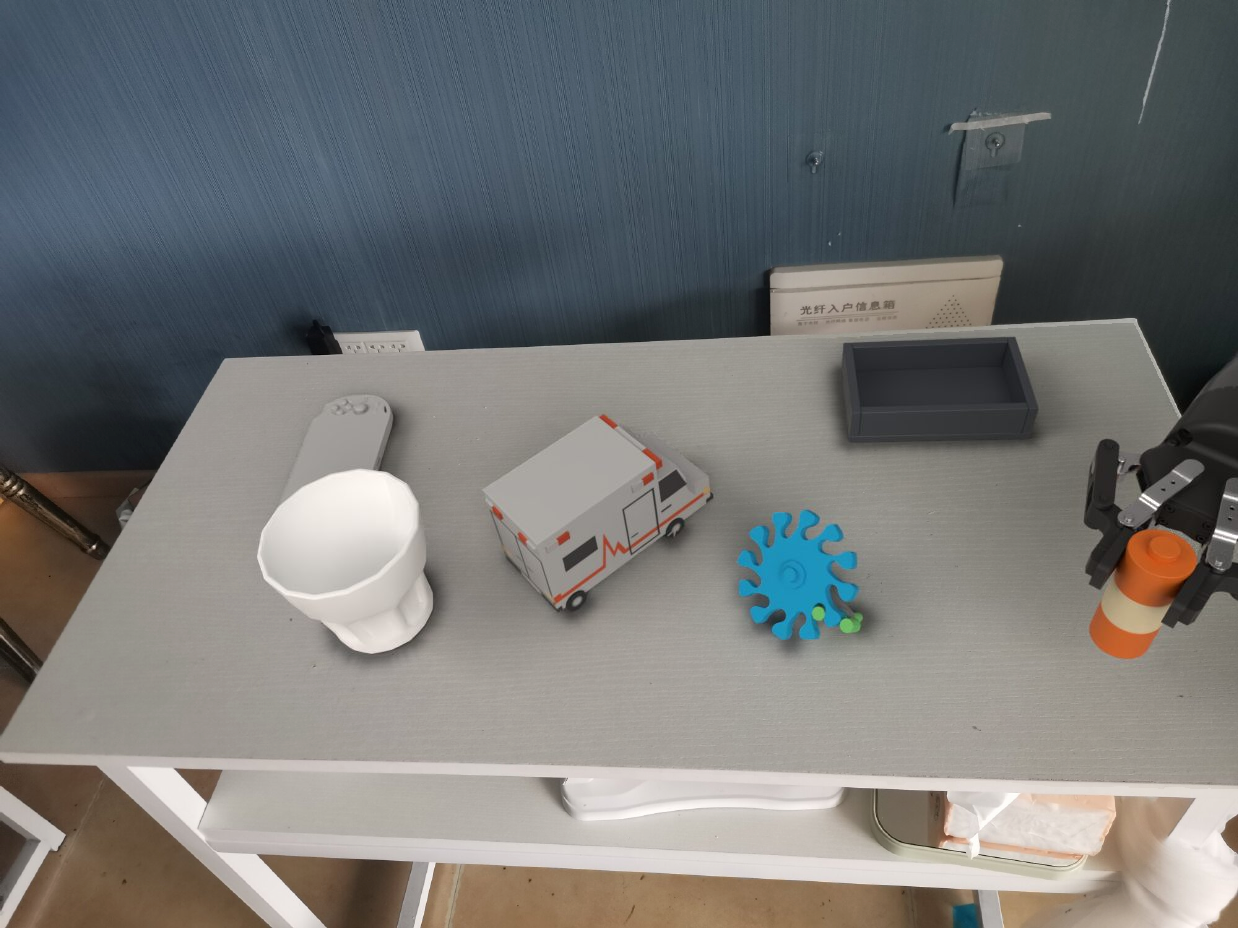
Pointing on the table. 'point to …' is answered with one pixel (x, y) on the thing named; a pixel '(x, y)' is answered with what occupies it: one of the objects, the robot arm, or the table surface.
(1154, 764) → the table surface
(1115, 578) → the orange cylinder
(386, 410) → the game console
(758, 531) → the gear
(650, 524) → the toy vehicle
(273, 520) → the cup
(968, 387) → the bin
